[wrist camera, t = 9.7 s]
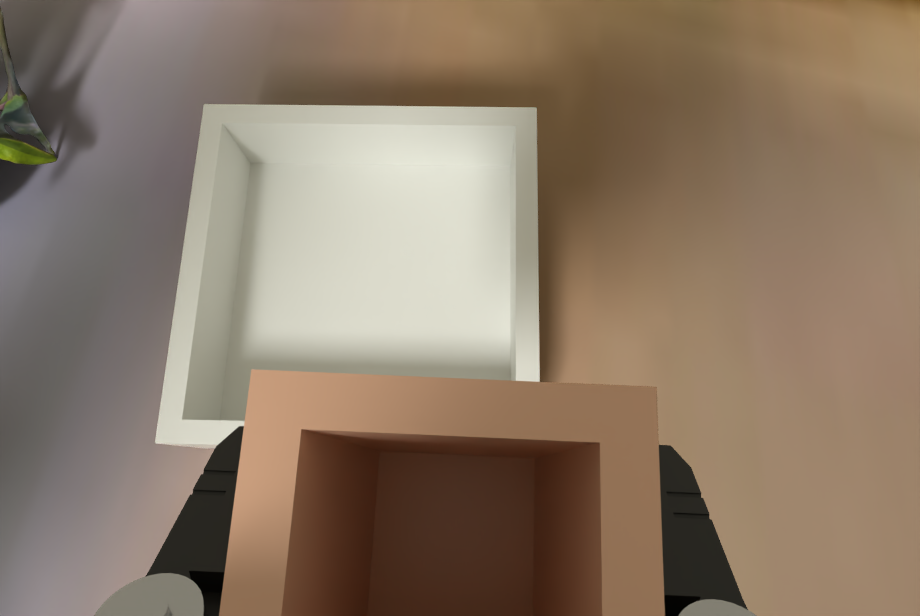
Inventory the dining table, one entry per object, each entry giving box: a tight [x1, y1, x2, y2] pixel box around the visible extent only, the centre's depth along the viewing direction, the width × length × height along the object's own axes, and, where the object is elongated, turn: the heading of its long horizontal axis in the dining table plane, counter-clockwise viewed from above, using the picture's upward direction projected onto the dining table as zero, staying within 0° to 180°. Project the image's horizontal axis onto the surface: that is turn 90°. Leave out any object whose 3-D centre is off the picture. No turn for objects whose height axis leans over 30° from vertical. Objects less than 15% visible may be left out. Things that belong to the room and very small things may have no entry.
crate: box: [155, 104, 540, 448], centre depth 30 cm, size 16×16×5 cm
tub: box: [219, 369, 665, 616], centre depth 11 cm, size 5×5×8 cm
